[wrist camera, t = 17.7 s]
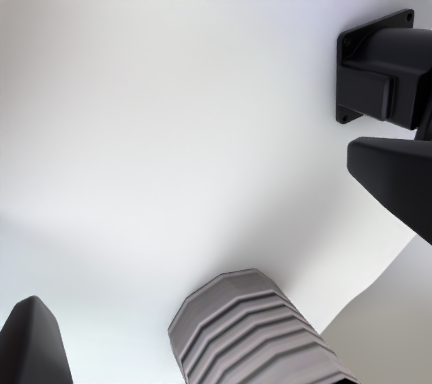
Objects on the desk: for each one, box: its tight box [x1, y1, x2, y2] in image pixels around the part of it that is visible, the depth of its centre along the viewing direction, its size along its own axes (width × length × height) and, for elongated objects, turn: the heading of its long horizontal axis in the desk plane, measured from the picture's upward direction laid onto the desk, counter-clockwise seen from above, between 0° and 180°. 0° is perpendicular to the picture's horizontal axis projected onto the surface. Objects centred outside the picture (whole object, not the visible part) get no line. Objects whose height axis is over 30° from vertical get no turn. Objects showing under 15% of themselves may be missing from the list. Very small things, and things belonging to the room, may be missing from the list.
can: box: [168, 269, 361, 384], centre depth 27 cm, size 11×11×12 cm
